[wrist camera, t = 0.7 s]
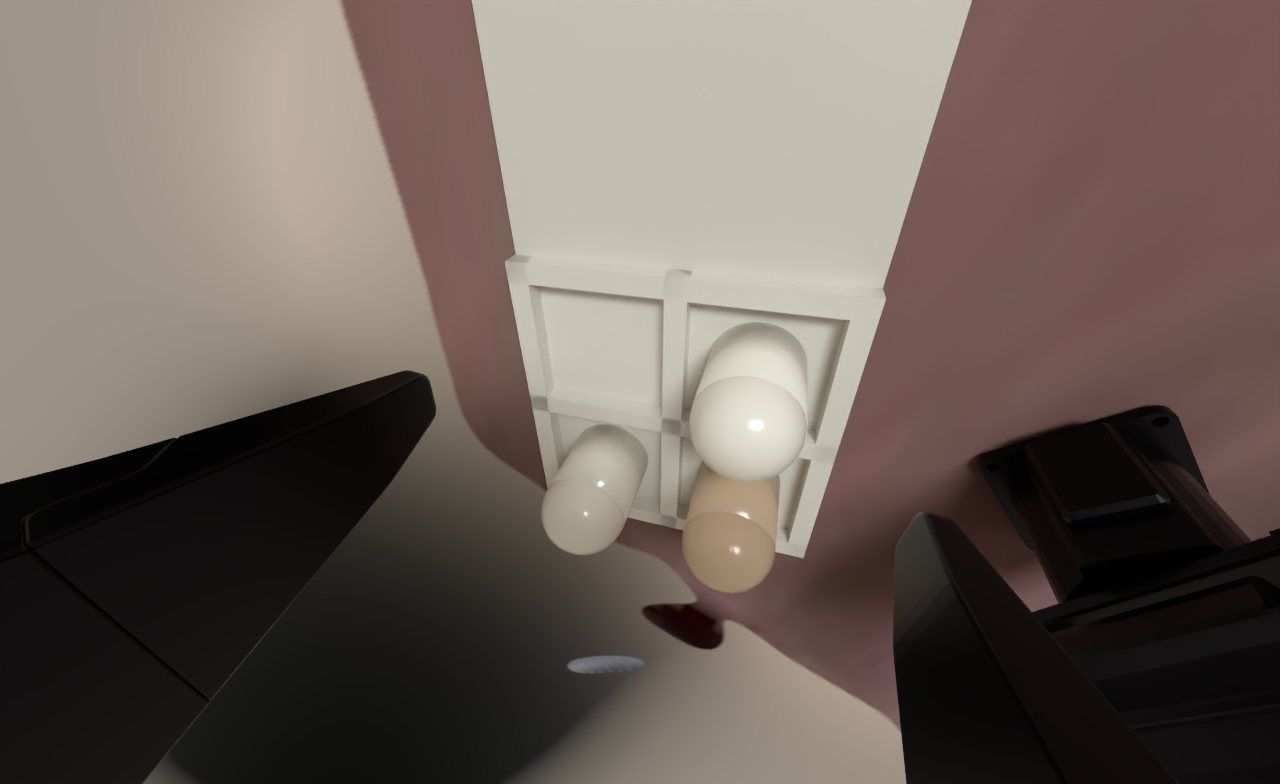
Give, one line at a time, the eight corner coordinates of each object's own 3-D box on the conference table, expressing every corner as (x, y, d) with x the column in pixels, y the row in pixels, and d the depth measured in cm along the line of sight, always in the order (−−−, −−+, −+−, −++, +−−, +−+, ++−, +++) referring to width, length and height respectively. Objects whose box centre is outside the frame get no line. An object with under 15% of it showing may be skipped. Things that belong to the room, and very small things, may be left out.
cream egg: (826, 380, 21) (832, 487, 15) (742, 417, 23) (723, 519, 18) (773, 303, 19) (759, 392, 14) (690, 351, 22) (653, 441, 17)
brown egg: (796, 493, 25) (792, 606, 20) (728, 514, 27) (709, 619, 22) (750, 437, 24) (734, 542, 18) (684, 464, 26) (652, 563, 21)
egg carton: (803, 535, 27) (803, 558, 26) (560, 481, 31) (549, 499, 30) (1115, -487, 9) (1164, -576, 8) (429, -315, 13) (388, -355, 12)
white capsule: (663, 467, 27) (628, 564, 22) (611, 488, 29) (568, 580, 24) (614, 413, 25) (564, 502, 20) (564, 440, 28) (508, 526, 23)
